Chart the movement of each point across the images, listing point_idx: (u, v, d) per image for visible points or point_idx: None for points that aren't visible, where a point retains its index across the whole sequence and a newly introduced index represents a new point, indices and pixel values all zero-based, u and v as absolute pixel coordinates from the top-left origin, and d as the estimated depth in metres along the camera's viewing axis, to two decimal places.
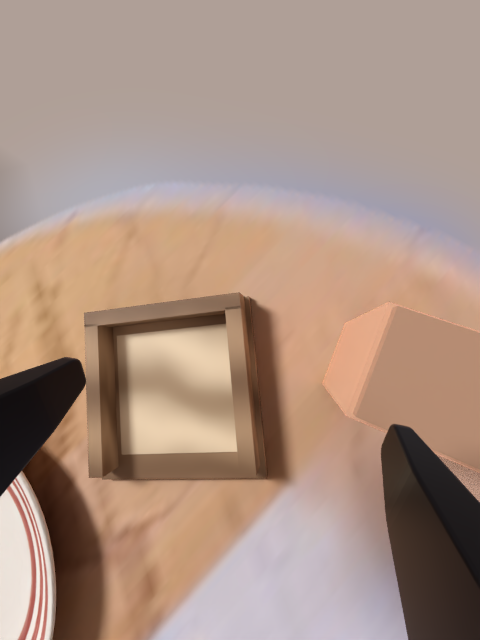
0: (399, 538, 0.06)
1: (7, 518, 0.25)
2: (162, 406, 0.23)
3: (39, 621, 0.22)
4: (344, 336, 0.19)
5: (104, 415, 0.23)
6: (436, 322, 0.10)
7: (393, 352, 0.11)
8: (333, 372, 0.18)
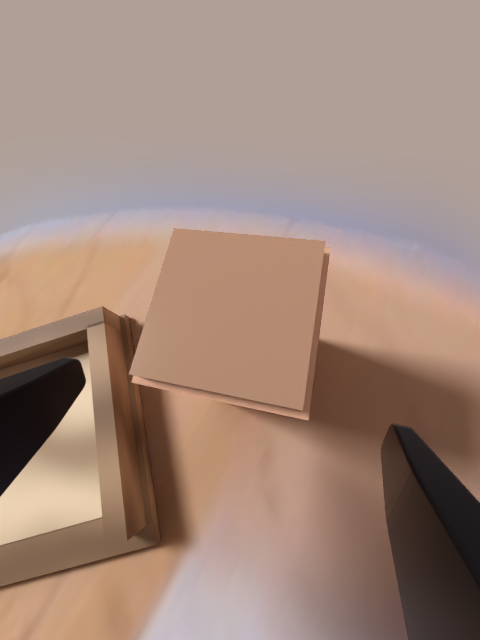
0: (399, 538, 0.06)
1: None
2: None
3: None
4: None
5: None
6: (216, 235, 0.08)
7: (171, 281, 0.08)
8: None
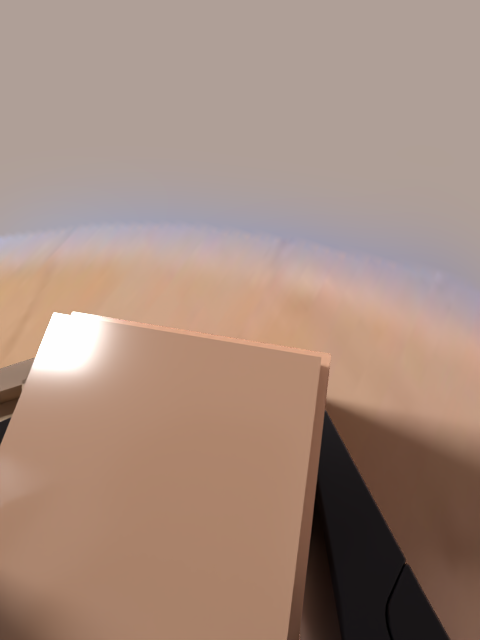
0: None
1: None
2: None
3: None
4: None
5: None
6: (122, 332, 0.05)
7: (34, 422, 0.04)
8: None
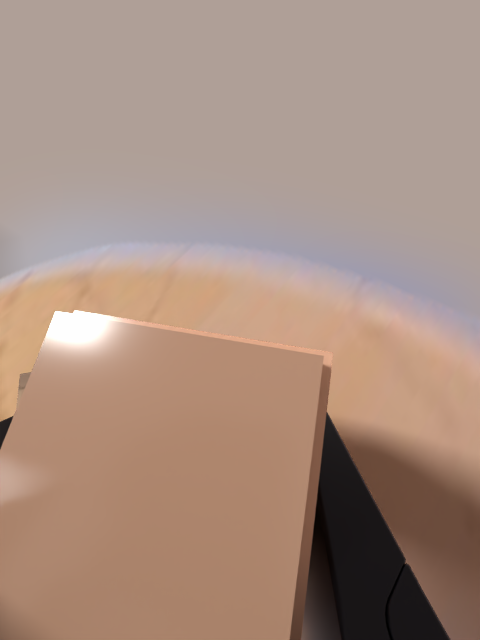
0: None
1: None
2: None
3: None
4: None
5: None
6: (124, 331, 0.05)
7: (37, 420, 0.04)
8: None
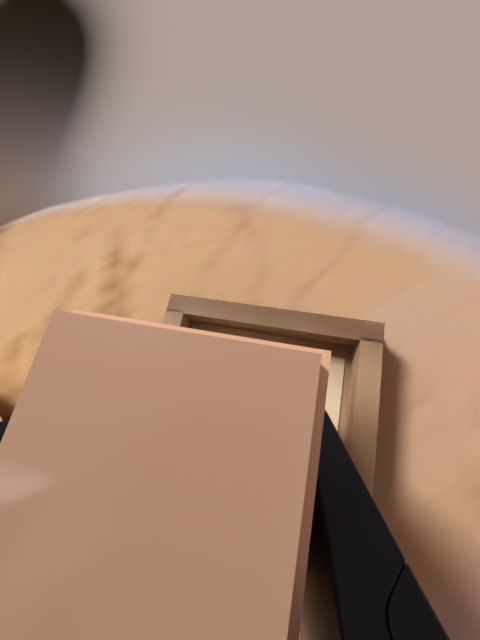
0: None
1: None
2: None
3: None
4: None
5: None
6: (122, 330, 0.05)
7: (34, 419, 0.04)
8: None
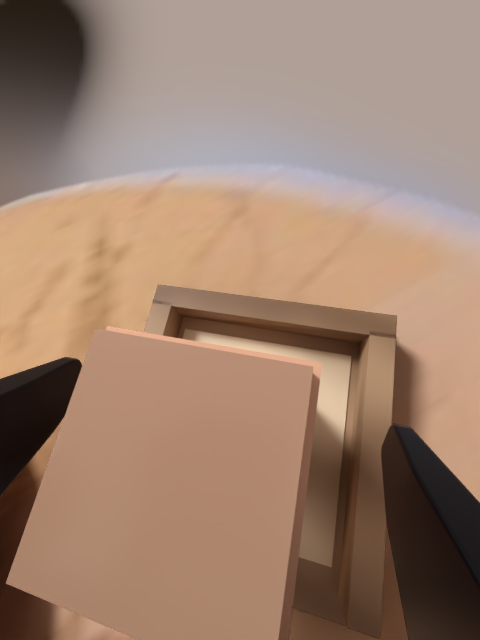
0: (399, 538, 0.06)
1: None
2: None
3: None
4: None
5: None
6: (153, 345, 0.06)
7: (84, 417, 0.05)
8: None
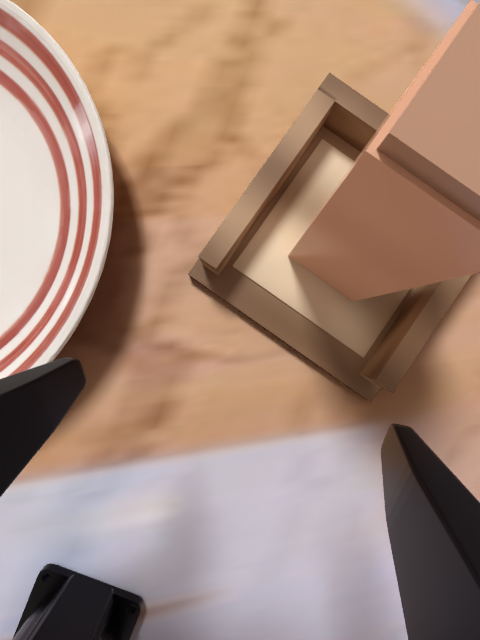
0: (399, 538, 0.06)
1: (33, 226, 0.17)
2: None
3: (9, 363, 0.16)
4: None
5: (261, 207, 0.16)
6: None
7: (469, 49, 0.07)
8: None
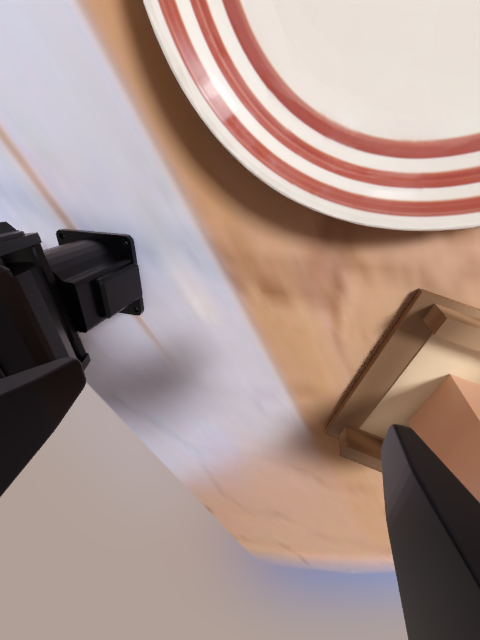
0: (399, 538, 0.06)
1: None
2: None
3: (292, 149, 0.14)
4: None
5: None
6: None
7: None
8: None
